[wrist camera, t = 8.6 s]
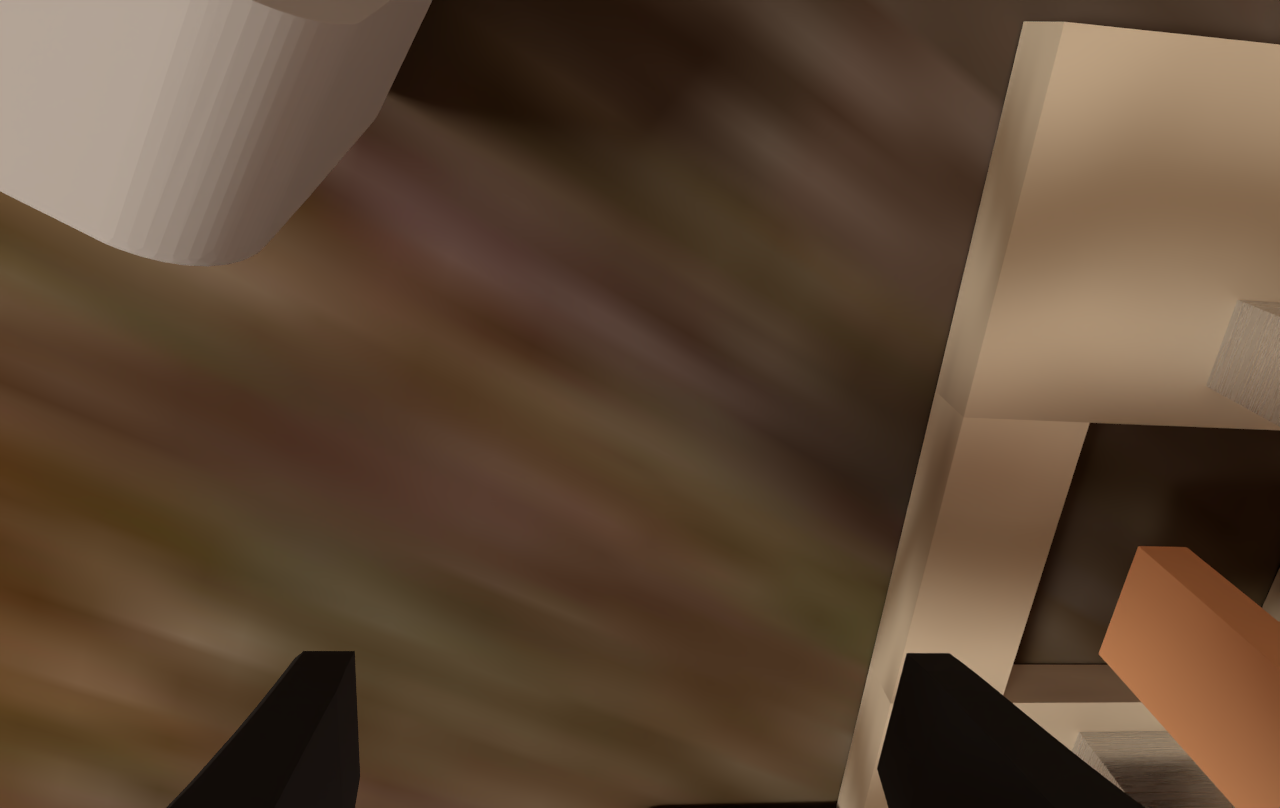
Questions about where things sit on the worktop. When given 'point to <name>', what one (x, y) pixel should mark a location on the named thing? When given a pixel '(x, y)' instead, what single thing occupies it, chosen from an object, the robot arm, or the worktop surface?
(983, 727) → the robot arm
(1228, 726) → the notched orange block
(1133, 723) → the shelf board
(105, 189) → the wall hook
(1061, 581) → the worktop surface
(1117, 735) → the grey rod with blocks
